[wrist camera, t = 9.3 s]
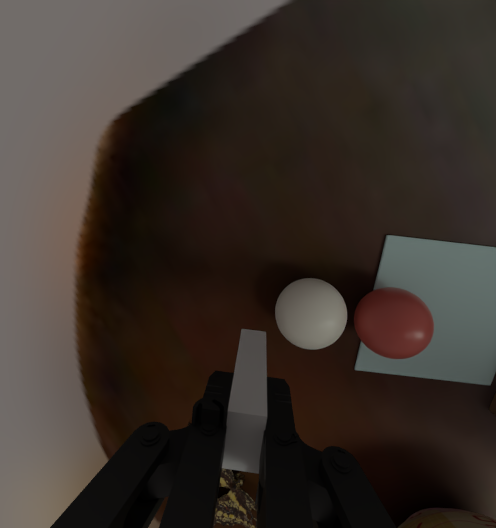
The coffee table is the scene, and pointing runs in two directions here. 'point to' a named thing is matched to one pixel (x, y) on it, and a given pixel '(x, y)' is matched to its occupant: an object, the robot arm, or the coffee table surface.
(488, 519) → the bowl
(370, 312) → the red ball
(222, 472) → the butterfly
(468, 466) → the coffee table surface
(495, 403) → the strip
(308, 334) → the white ball
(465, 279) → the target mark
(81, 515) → the robot arm
